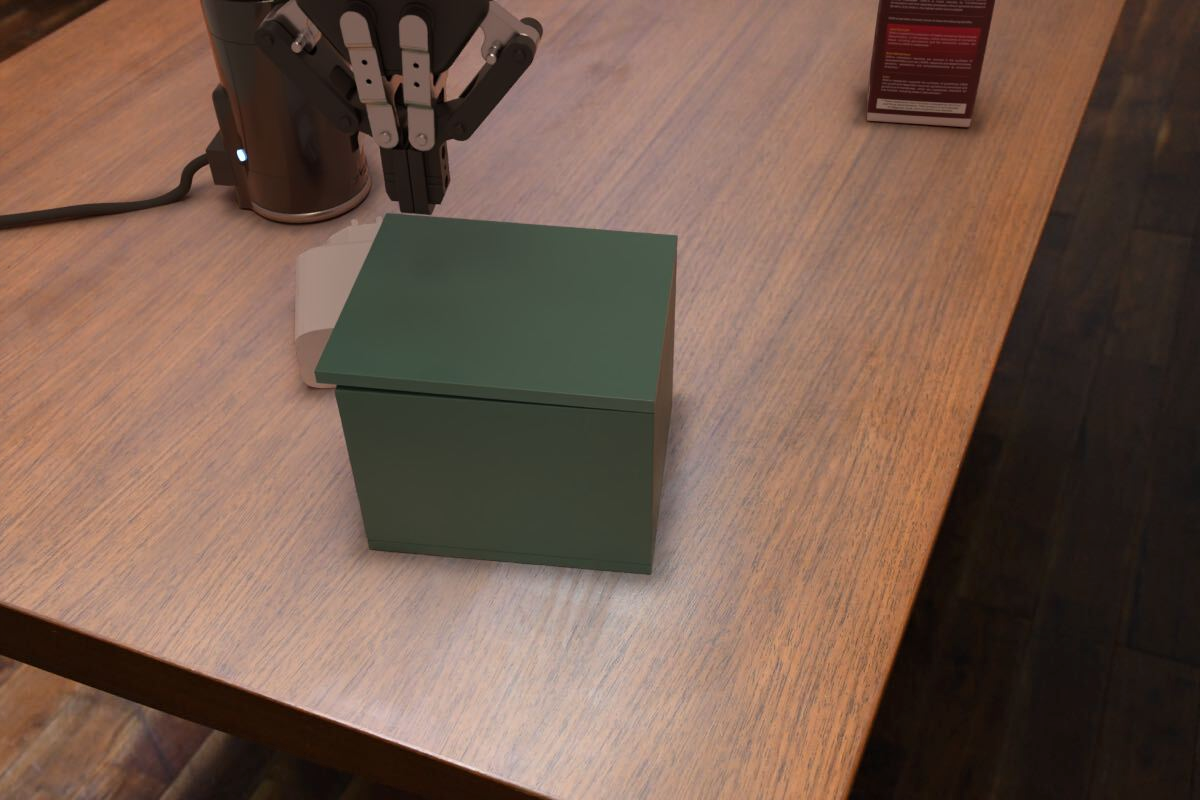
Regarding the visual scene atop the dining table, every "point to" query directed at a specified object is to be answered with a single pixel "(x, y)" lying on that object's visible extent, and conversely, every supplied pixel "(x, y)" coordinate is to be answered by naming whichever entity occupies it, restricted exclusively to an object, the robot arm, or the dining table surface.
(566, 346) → the lid
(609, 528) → the chest
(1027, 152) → the dining table surface
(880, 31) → the supplement box
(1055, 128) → the dining table surface
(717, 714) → the dining table surface
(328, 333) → the charger
